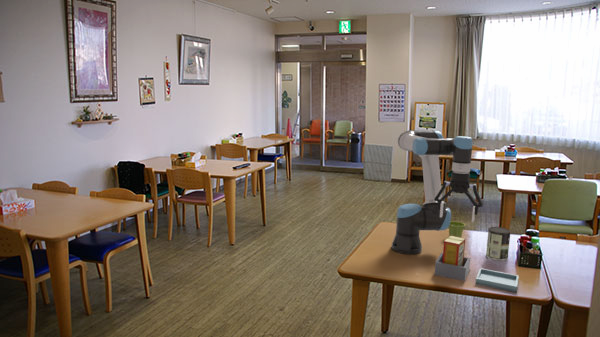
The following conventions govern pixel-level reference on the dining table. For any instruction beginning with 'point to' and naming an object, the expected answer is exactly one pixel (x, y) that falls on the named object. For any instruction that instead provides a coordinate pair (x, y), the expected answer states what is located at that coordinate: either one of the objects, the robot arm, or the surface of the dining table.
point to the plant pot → (456, 228)
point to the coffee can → (498, 243)
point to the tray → (497, 280)
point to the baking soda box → (454, 251)
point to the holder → (452, 269)
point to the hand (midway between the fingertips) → (456, 219)
